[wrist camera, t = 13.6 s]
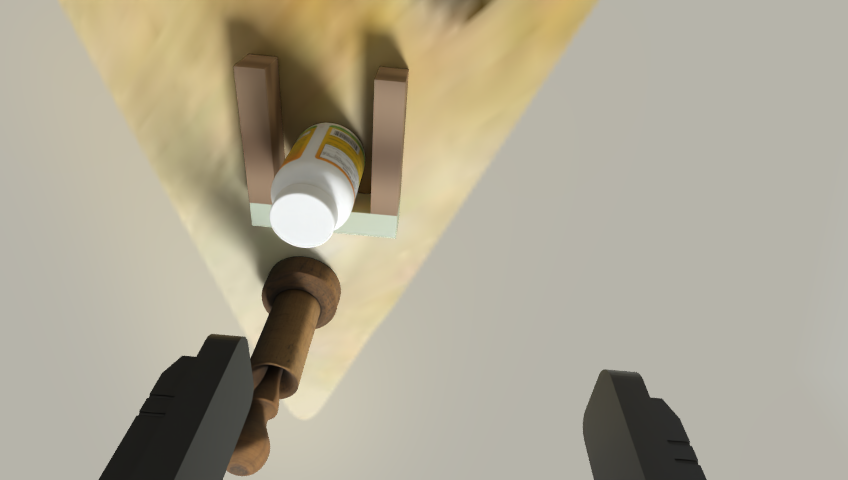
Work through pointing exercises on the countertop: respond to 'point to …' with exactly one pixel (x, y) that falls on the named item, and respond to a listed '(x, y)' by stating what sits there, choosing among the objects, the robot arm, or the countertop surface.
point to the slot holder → (267, 153)
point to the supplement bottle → (316, 185)
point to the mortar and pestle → (283, 348)
